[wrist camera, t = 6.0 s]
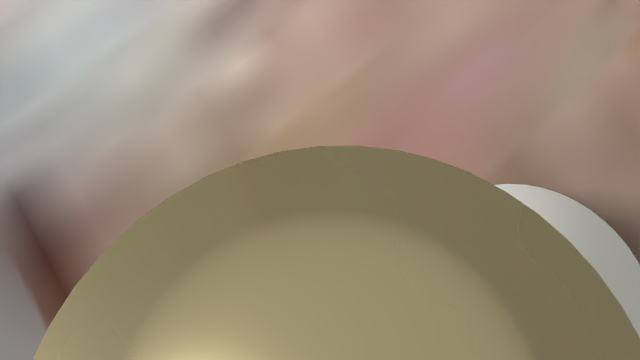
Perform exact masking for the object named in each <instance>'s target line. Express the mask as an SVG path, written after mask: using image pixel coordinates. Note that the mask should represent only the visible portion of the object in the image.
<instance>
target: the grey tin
mask: <svg viewBox="0 0 640 360" xmlns="http://www.w3.org/2000/svg"><path fill="white" fill-rule="evenodd" d="M33 360H640V338H639V336H638V334H637V332H636V330H635V329H634V327H633V325H632V323H631V322H630V320H629V318H628V316H627V314H626V313H625V311H624V309H623V307H622V306H621V304H620V303H619V301H618V300H617V299H616V297H615V296H614V295H613V293H612V292H611V290H610V289H609V288H608V286H607V285H606V283H605V282H604V281H603V279H602V278H601V276H600V275H599V274H598V272H597V271H596V270H595V269H594V268H593V267H592V265H591V264H590V263H589V262H588V261H587V260H586V259H585V258H584V257H583V256H582V254H581V253H580V252H579V251H578V250H577V249H576V248H575V247H574V246H573V245H572V243H571V242H570V241H569V240H568V239H567V238H565V237H564V236H563V235H562V234H561V233H560V232H559V231H557V230H556V229H555V228H554V227H553V226H552V225H551V224H549V223H548V222H547V221H546V220H545V219H544V218H543V217H541V216H540V215H539V214H538V213H536V212H535V211H533V210H532V209H531V208H529V207H528V206H526V205H525V204H523V203H522V202H520V201H519V200H517V199H516V198H515V197H513V196H512V195H510V194H509V193H507V192H506V191H504V190H502V189H500V188H498V187H496V186H495V185H493V184H491V183H489V182H487V181H485V180H483V179H481V178H479V177H477V176H475V175H473V174H472V173H469V172H467V171H464V170H461V169H459V168H456V167H453V166H451V165H448V164H446V163H443V162H440V161H438V160H435V159H431V158H427V157H423V156H419V155H415V154H411V153H407V152H402V151H398V150H392V149H383V148H374V147H365V146H317V147H310V148H303V149H295V150H288V151H281V152H277V153H273V154H270V155H266V156H262V157H259V158H255V159H251V160H247V161H244V162H241V163H238V164H236V165H234V166H231V167H229V168H226V169H224V170H221V171H219V172H216V173H214V174H212V175H209V176H207V177H204V178H203V179H201V180H199V181H197V182H196V183H194V184H192V185H190V186H188V187H187V188H185V189H183V190H181V191H180V192H178V193H176V194H174V195H172V196H171V197H169V198H168V199H166V200H165V201H164V202H162V203H161V204H159V205H158V206H157V207H155V208H154V209H153V210H151V211H150V212H149V213H147V214H146V215H145V216H143V217H142V218H140V219H139V220H138V221H136V222H135V223H134V224H133V225H132V226H131V227H130V228H129V229H128V230H127V231H125V232H124V233H123V234H122V235H121V236H120V237H119V238H118V239H117V240H116V241H115V242H114V243H113V244H112V245H111V246H110V247H108V248H107V249H106V250H105V251H104V252H103V253H102V255H101V256H100V257H99V258H98V259H97V261H96V262H95V263H94V264H93V265H92V267H91V268H90V269H89V270H88V271H87V273H86V274H85V275H84V276H83V277H82V279H81V280H80V281H79V282H78V283H77V285H76V286H75V287H74V288H73V290H72V292H71V293H70V295H69V296H68V298H67V299H66V301H65V302H64V304H63V305H62V307H61V308H60V310H59V312H58V313H57V315H56V316H55V318H54V319H53V321H52V322H51V324H50V325H49V327H48V329H47V331H46V333H45V335H44V338H43V339H42V342H41V343H40V346H39V348H38V350H37V352H36V354H35V356H34V358H33Z"/></svg>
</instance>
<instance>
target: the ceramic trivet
mask: <svg viewBox="0 0 640 360" xmlns="http://www.w3.org/2000/svg"><path fill="white" fill-rule="evenodd" d="M495 186H496V187H498V188H500V189H502V190H504V191H506V192H507V193H509V194H510V195H512V196H513V197H515V198H516V199H517V200H519V201H520V202H522V203H523V204H525V205H526V206H528V207H529V208H531V209H532V210H533V211H535V212H536V213H538V214H539V215H540V216H541V217H543V218H544V219H545V220H546V221H547V222H548V223H549V224H551V225H552V226H553V227H554V228H555V229H556V230H557V231H559V232H560V233H561V234H562V235H563V236H564V237H565V238H567V239H568V240H569V241H570V242H571V243H572V245H573V246H574V247H575V248H576V249H577V250H578V251H579V252H580V253H581V254H582V256H583V257H584V258H585V259H586V260H587V261H588V262H589V263H590V264H591V265H592V267H593V268H594V269H595V270H596V271H597V272H598V274H599V275H600V276H601V278H602V279H603V281H604V282H605V283H606V285H607V286H608V288H609V289H610V290H611V292H612V293H613V295H614V296H615V297H616V299H617V300H618V301H619V303H620V304H621V306H622V307H623V309H624V311H625V313H626V314H627V316H628V318H629V320H630V322H631V323H632V325H633V327H634V329H635V330H636V332H637V334H638V336H639V338H640V264H639V263H638V261H637V259H636V258H635V256H634V255H633V253H632V252H631V250H630V249H629V247H628V246H627V245H626V243H625V242H624V241H623V240H622V239H621V237H620V236H619V235H618V234H617V233H616V232H615V231H614V230H613V229H612V228H611V227H610V226H609V225H608V224H607V223H606V222H605V221H604V220H603V219H601V218H600V217H599V216H598V215H596V214H595V213H594V212H592V211H591V210H590V209H588V208H587V207H585V206H583V205H582V204H580V203H578V202H577V201H575V200H573V199H571V198H568V197H566V196H564V195H562V194H559V193H557V192H554V191H550V190H547V189H544V188H540V187H534V186H529V185H518V184H502V185H495Z"/></svg>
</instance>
